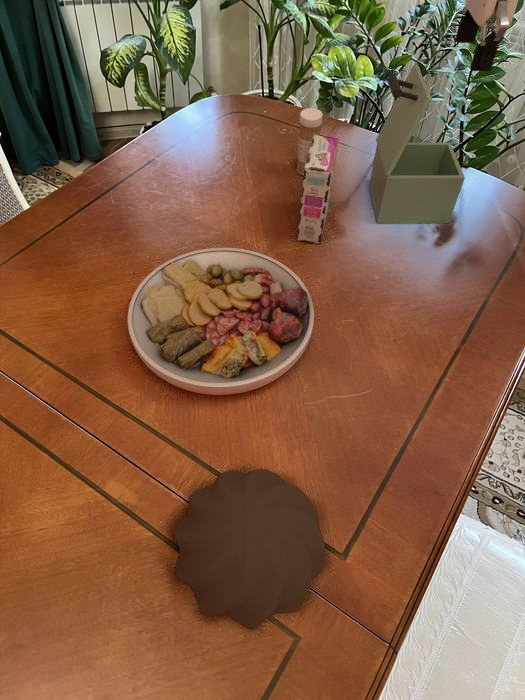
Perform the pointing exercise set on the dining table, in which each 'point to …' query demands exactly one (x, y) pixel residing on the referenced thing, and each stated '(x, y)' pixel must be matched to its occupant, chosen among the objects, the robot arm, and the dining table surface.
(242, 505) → the decorative dome
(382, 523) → the dining table surface
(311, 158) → the candy bar box
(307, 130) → the sprinkles bottle
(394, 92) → the lid
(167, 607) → the dining table surface
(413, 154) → the compartment
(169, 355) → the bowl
